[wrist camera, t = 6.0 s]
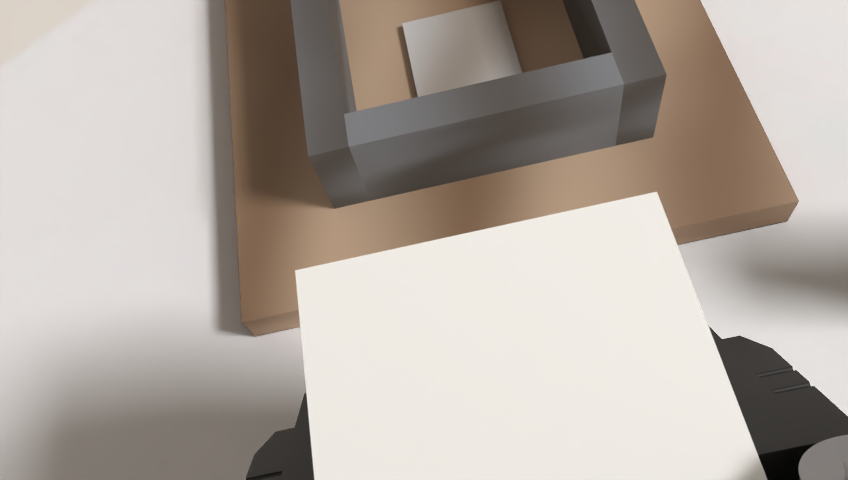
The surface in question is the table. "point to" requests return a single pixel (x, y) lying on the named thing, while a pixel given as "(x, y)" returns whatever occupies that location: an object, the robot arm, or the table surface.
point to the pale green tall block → (521, 357)
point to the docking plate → (476, 126)
